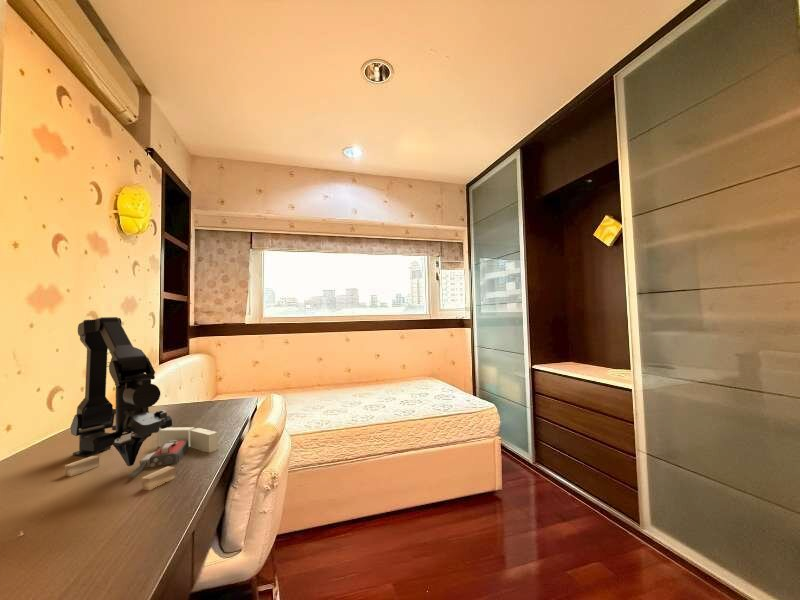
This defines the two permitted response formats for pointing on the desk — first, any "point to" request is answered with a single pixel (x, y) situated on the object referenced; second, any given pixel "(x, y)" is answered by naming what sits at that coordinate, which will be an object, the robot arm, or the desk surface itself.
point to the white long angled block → (190, 437)
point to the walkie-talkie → (164, 455)
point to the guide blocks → (147, 481)
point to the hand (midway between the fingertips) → (130, 465)
